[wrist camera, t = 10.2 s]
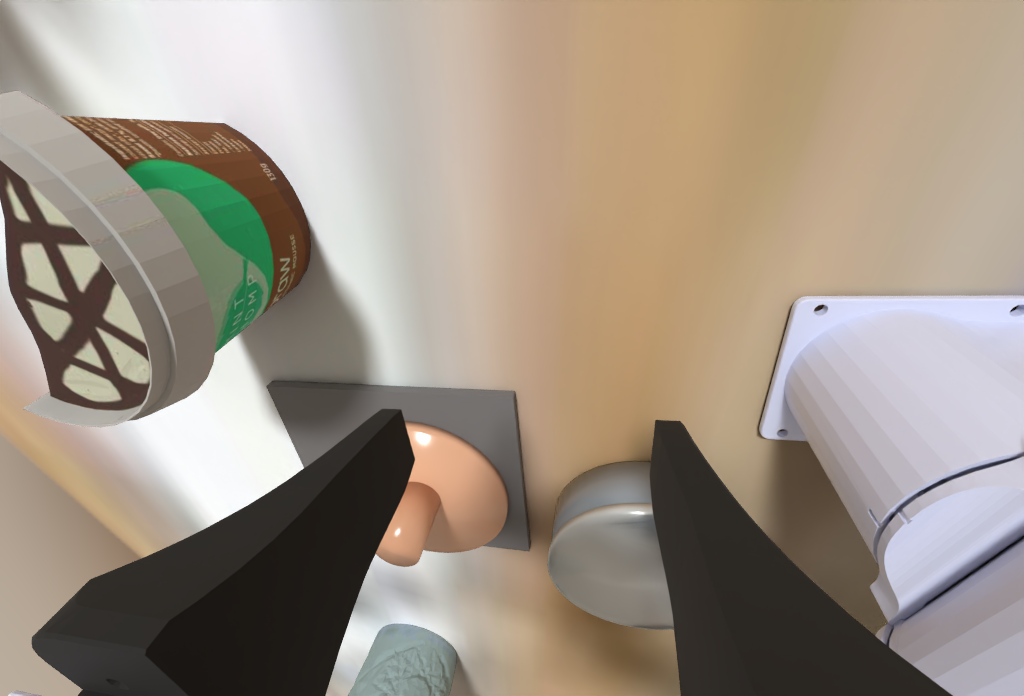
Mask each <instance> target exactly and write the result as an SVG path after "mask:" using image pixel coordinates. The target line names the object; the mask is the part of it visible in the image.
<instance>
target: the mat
mask: <svg viewBox="0 0 1024 696" xmlns="http://www.w3.org/2000/svg"><path fill="white" fill-rule="evenodd" d="M267 388H268V391H269V393H270V395H271V397H272V399H273V401H274V404H275V406H276V408H277V410H278V412H279V414H280V417H281V419H282V421H283V423H284V425H285V427H286V429H287V432H288V434H289V436H290V438H291V440H292V442H293V445H294V447H295V449H296V451H297V453H298V455H299V458H300V460H301V462H302V464H303V466H304V468H305V467H307V466H308V465H310V464H311V463H312V462H314V461H315V460H316V459H318V458H319V457H321V456H322V455H323V454H325V453H326V452H327V451H328V450H330V449H331V448H332V447H334V446H335V445H336V444H337V443H339V442H340V441H341V440H342V439H344V438H345V437H346V436H348V435H349V434H350V433H351V432H353V431H354V430H355V429H356V428H358V427H359V426H360V425H361V424H363V423H364V422H365V421H366V420H368V419H369V418H370V417H372V416H373V415H374V414H375V413H377V412H378V411H380V410H381V409H401V410H402V414H403V417H404V421H412V422H418V423H424V424H428V425H432V426H435V427H438V428H441V429H444V430H446V431H449V432H451V433H453V434H455V435H457V436H459V437H461V438H463V439H464V440H466V441H467V442H469V443H471V444H472V445H473V446H475V447H476V448H477V449H479V450H480V451H481V452H482V453H483V454H484V455H485V456H487V457H488V458H489V459H490V461H491V462H492V463H493V464H494V465H495V466H496V468H497V469H498V471H499V472H500V474H501V475H502V478H503V480H504V482H505V484H506V487H507V490H508V497H509V506H508V512H507V516H506V520H505V523H504V526H503V528H502V530H501V531H500V532H499V534H498V535H497V536H496V537H495V538H494V539H493V540H491V541H490V542H488V543H487V544H485V545H483V546H489V547H497V548H506V549H514V550H523V551H529V549H530V535H529V525H528V515H527V506H526V496H525V486H524V476H523V466H522V456H521V446H520V436H519V426H518V416H517V406H516V397H515V391H498V390H474V389H451V388H427V387H404V386H380V385H356V384H333V383H309V382H285V381H272V382H271V383H270V384H269V385H268V386H267Z"/></svg>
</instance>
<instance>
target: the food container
mask: <svg viewBox="0 0 1024 696" xmlns="http://www.w3.org/2000/svg"><path fill="white" fill-rule="evenodd" d="M0 200H1V205H2V209H3V214H4V218H5V238H6V260H7V272H8V281H9V287H10V291H11V294H12V296H13V298H14V300H15V303H16V305H17V307H18V309H19V311H20V313H21V314H22V316H23V318H24V320H25V321H26V323H27V325H28V327H29V328H30V330H31V332H32V334H33V336H34V339H35V341H36V343H37V345H38V348H39V350H40V354H41V357H42V361H43V364H44V368H45V372H46V375H47V380H48V385H49V390H50V392H48V393H47V394H45V395H44V396H42V397H40V398H39V399H37V400H36V401H34V402H33V403H31V404H29V405H28V406H26V407H25V408H23V409H24V410H26V411H29V412H31V413H34V414H36V415H39V416H41V417H44V418H47V419H51V420H54V421H57V422H61V423H65V424H71V425H76V426H82V427H106V426H113V425H117V424H120V423H122V422H125V421H129V420H137V419H139V418H142V417H145V416H148V415H150V414H152V413H155V412H157V411H159V410H161V409H163V408H165V407H167V406H170V405H172V404H174V403H176V402H178V401H180V400H182V399H185V398H187V397H188V396H189V395H191V394H192V393H194V392H195V391H196V390H198V389H199V388H200V386H201V385H202V384H203V382H204V381H205V380H206V379H207V377H208V375H209V372H210V370H211V367H212V365H213V361H214V355H215V353H216V352H217V351H218V350H219V349H221V348H222V347H223V346H224V345H225V344H227V343H228V342H229V341H230V340H232V339H233V338H234V337H235V336H236V335H238V334H239V333H240V332H241V331H242V330H244V329H245V328H246V327H247V326H248V325H250V324H251V323H252V322H253V321H254V320H256V319H257V318H258V317H259V316H261V315H262V314H263V313H264V312H265V311H267V310H268V309H269V308H270V307H271V306H273V305H274V304H275V303H276V302H277V301H279V300H280V299H281V298H282V297H283V296H285V295H286V294H287V293H288V292H290V291H291V290H292V289H293V288H294V287H296V286H297V285H298V284H299V282H300V281H301V279H302V277H303V275H304V274H305V272H306V270H307V267H308V263H309V260H310V250H311V242H310V232H309V228H308V223H307V219H306V216H305V213H304V211H303V208H302V205H301V203H300V201H299V199H298V197H297V195H296V193H295V191H294V189H293V187H292V186H291V184H290V183H289V181H288V180H287V178H286V177H285V175H284V174H283V172H282V171H281V170H280V169H279V168H278V166H277V165H276V164H275V163H274V162H273V160H272V159H271V158H270V157H269V156H268V155H267V154H266V153H265V152H264V151H263V150H262V149H261V148H259V147H258V146H257V145H256V144H255V143H254V142H252V141H251V140H250V139H248V138H247V137H246V136H244V135H243V134H242V133H240V132H238V131H237V130H235V129H233V128H232V127H230V126H228V125H226V124H225V123H205V122H183V121H161V120H139V119H117V118H94V117H72V116H59V115H58V114H56V113H55V112H54V111H52V110H51V109H49V108H48V107H46V106H44V105H43V104H41V103H39V102H37V101H36V100H34V99H32V98H30V97H29V96H27V95H25V94H23V93H22V92H20V91H18V90H17V91H12V92H7V93H2V94H0Z"/></svg>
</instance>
